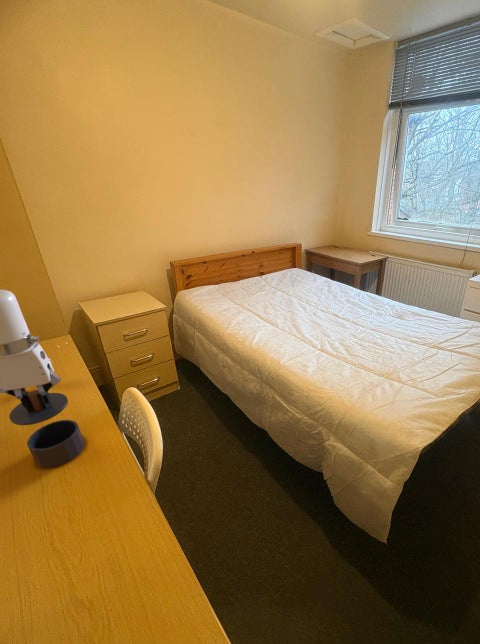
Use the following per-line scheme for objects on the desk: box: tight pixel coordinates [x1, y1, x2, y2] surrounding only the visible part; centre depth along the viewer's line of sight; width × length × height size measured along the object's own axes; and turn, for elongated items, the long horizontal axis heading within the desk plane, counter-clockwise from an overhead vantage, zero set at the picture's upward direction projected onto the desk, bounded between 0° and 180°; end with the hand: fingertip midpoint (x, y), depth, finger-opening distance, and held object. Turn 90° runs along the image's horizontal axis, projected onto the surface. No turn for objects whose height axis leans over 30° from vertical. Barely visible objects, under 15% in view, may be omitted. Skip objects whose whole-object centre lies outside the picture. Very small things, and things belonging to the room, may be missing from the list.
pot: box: [26, 419, 86, 469], centre depth 88 cm, size 11×11×6 cm
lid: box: [8, 389, 69, 426], centre depth 81 cm, size 12×12×6 cm
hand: (38, 406), depth 82 cm, fingers closed on lid, 2 cm apart
